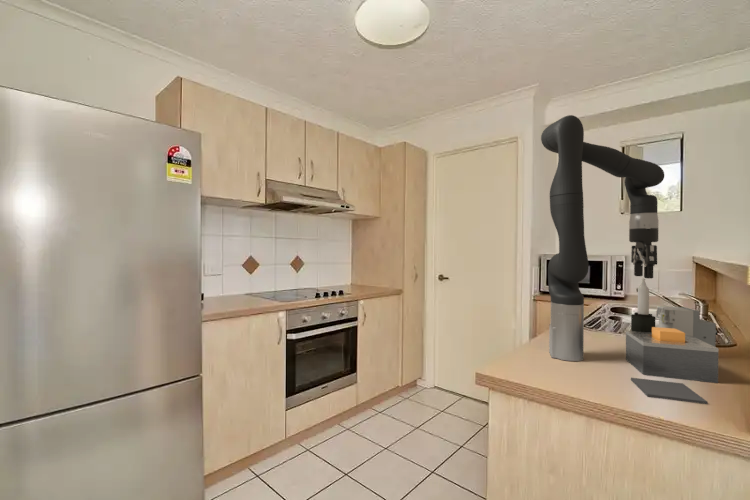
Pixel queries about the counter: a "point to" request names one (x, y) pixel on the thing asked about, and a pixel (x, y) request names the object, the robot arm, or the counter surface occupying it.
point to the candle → (642, 311)
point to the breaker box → (672, 357)
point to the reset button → (668, 334)
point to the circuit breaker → (687, 323)
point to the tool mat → (667, 390)
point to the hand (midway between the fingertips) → (643, 277)
